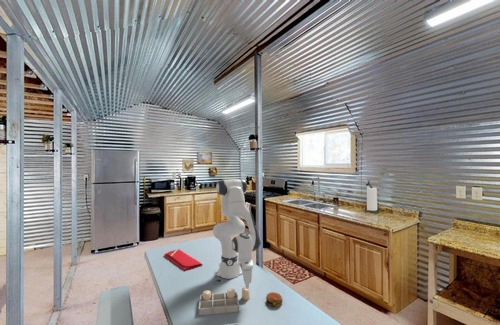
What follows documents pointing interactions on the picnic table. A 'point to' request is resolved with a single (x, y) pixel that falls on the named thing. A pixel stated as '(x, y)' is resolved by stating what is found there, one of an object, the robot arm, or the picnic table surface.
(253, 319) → the picnic table surface
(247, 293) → the egg
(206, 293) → the egg
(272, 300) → the burger
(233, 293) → the egg
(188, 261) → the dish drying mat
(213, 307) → the carton
